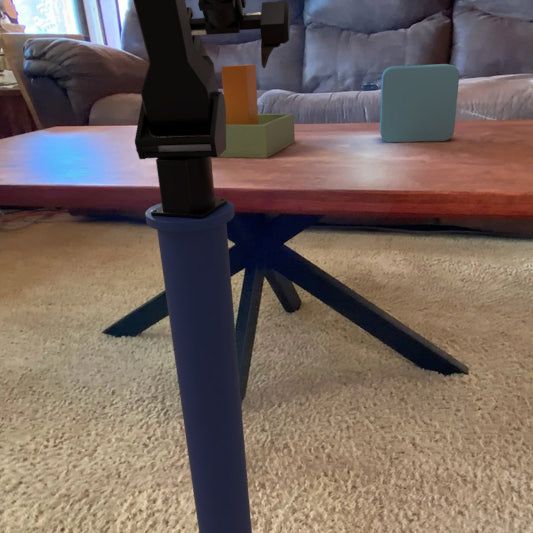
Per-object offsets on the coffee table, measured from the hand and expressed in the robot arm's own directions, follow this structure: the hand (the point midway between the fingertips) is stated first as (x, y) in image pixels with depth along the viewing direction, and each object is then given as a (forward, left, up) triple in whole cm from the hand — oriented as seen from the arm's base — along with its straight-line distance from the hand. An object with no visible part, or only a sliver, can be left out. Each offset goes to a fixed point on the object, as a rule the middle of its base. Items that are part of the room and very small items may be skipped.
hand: (236, 67), depth 83 cm
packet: (0, -1, -13) cm, 13 cm away
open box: (0, 0, -13) cm, 13 cm away
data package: (+11, -28, -13) cm, 33 cm away
